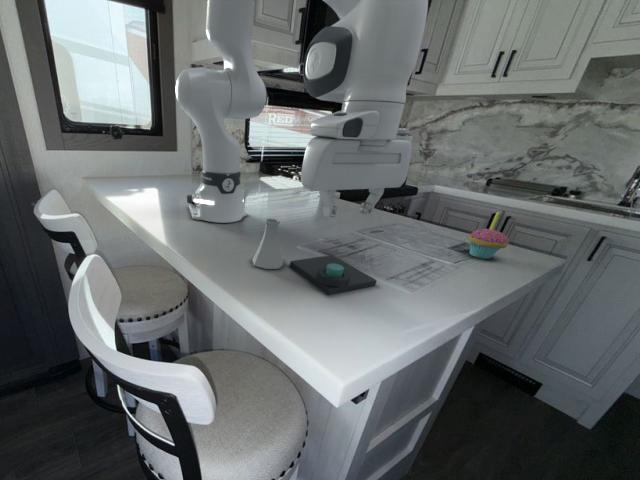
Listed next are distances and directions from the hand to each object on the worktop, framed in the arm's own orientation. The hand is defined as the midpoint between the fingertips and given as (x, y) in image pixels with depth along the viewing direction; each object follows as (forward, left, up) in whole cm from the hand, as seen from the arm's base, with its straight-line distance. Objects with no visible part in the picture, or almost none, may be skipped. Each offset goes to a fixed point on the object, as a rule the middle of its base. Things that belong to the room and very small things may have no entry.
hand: (347, 214), depth 54 cm
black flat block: (-4, +3, -15) cm, 15 cm away
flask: (-14, -7, -15) cm, 21 cm away
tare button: (0, 0, -12) cm, 12 cm away
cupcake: (-1, +51, -15) cm, 53 cm away
